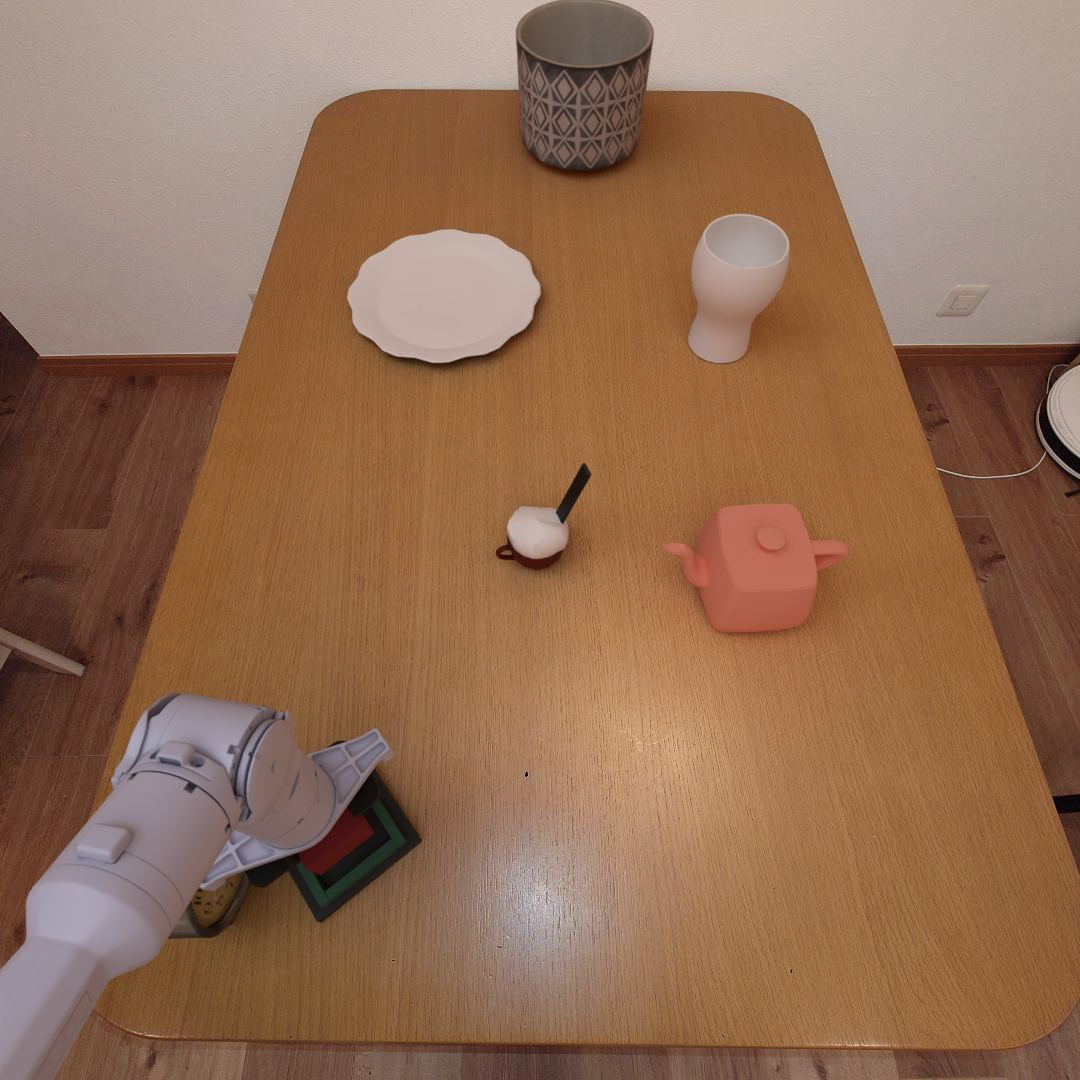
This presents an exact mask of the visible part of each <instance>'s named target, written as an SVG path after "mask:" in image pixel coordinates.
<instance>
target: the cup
mask: <svg viewBox="0 0 1080 1080" xmlns="http://www.w3.org/2000/svg"><path fill="white" fill-rule="evenodd" d="M790 250H791V246H790V239H789V238H788V236H787V234H786V232H785V231H784V230H783V229H782V228H781V227H780V226H779V225H778V224H776V223H775V222H773V221H771V219H767V218H765V217H762V216H759V215H755V214H751V213H733V214H726V215H723V216H720V217H717V218H716V219H714V220H712V221H711V222H710V223H709V224H708V225H707V226H706V227H705V229H704V230H703V232H702V235H701V237H700V238H699V240H698V242H697V245H696V246H695V249H694V252H693V256H692V260H691V265H690V277H691V286H692V292H693V294H694V297H695V299H696V303H697V307H696V309H697V310H696V315H695V317H694V319H693V322H692V323H691V326H690V328H689V332H688V334H687V344H688V347H689V349H690V350H691V351H692V353H693V354H695V356H697V357H699V358H701V359H702V360H704V361H706V362H711V363H714V364H729V363H733V362H736V361H738V360H739V359H741V358H742V357H744V356H745V354H746V353H747V352H748V349H749V344H750V339H751V330H752V325H753V323H754V321H755V320H756V318H757V316H758V315H759V314H760V313H762V312H763V311H764V310H766V309H767V308H768V306H769V305H770V304H771V302H772V301H773V300H774V298H775V297H776V296H777V295H778V293H779V292H780V291H781V289H782V287H783V284H784V281H785V278H786V277H787V272H788V269H789V263H790Z"/></svg>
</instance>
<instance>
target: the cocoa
mask: <svg viewBox="0 0 1080 1080" xmlns="http://www.w3.org/2000/svg"><path fill="white" fill-rule="evenodd" d="M591 477H592V472H591V470H590V469H589V467H588V466H587V464H586V463H585V462H583V463H581V466H580V467H579V469H578V471H577V472H576V475H575V476H574V479H573V480H572V481H571V483H570V485H569V486H568V487H569V488H568V489H567V491H566V492H565V494H564V496H563V498H562V500H561V502H560V503H559V506H558V507H557V508H555V507H552V506H548V507H547V506H546V507H544V506H543V507H539V506H531V505H529V506H525V505H524V506H523V505H521V506H519V507H518V508H517V509H516V510H514V512H512V514H511V517H510V518H509V519H508V522H507V526H506V542H507V543H506V544H504V545H501V546H499V547H498V548H497V549H496V550H495V556H496V557H497V558H498V559H499V560H502V561H515V562H516V563H518V564H519V565H521V566H522V567H524V568H525V569H531V570H535V571H537V570H538V571H539V570H543V569H548V568H549V567H551V566H552V565H554V564H556V563H557V562H558V561H559V560H560V558H561V555H563V552H564V551H565V548H566V547H567V544H568V542H569V539H570V529H569V523H568V519H567V518H568V517H569V515H570V513H571V511H572V510H573V508H574V506H575V505H576V503H577V501H578V499H579V498H580V496H581V495H582V492H583V491H584V489H585V487H586V486H587V484H588V481H589V480H590V478H591ZM505 551H509V552H510V553H511V554H503V553H504V552H505Z"/></svg>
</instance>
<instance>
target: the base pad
mask: <svg viewBox="0 0 1080 1080" xmlns="http://www.w3.org/2000/svg"><path fill="white" fill-rule="evenodd" d="M370 775H371V776H372V778H373V779H374V781H375V782H376V784H377V785H378V787H379V790H380V799H379V800H378V801H377V802H376V803H375V804H374V805H373V806H371V807H370V808H369V809H367V811H366V812H365V813H364V814H363V816H364V817H365V819H366V821H367V822H368V824H369V825H370V827H371V828H372V830H373V832H374V834H373V835H371V836H370V837H369V838H368V839H366V840H365V841H364V842H362V843H361V844H360V845H359V846H357V847H356V848H355V849H354V850H352V851H351V852H350V853H348V854H347V855H346V856H345V857H343V858H342V859H341V860H340V861H338V862H337V863H336V864H334V865H333V866H332V867H331V868H329V869H328V870H327V871H325V872H324V873H323V874H322V875H319V874H316V873H314V872H311V871H308V870H306V869H305V867H304V865H303V864H302V862H300V863H299V864H297V865H295V866H292V867H290V868H289V870H288V871H287V872H288V873H289V875H290V876H291V877H290V878H292V880H293V882H294V884H295V886H296V888H297V889H298V891H299V892H300V894H301V896H302V898H303V900H304V901H305V903H306V905H307V907H308V908H309V910H310V912H311V914H312V915H313V917H314V919H315V921H316V922H317V923H320V924H322V923H323V922H325V920H327V919H328V918H329V917H330V916H332V915H333V914H334V913H336V911H338V910H339V909H341V907H343V906H344V905H346V903H348V902H349V901H350V900H351V899H353V898H354V897H356V896H357V895H358V894H359V893H360V892H361V891H363V890H364V889H365V888H367V886H369V885H371V883H373V882H374V881H375V880H376V879H378V878H379V877H380V876H381V875H383V873H385V872H386V871H387V870H389V869H390V868H391V867H393V865H395V864H396V863H397V862H399V861H400V860H401V859H402V858H404V857H405V856H406V855H408V853H410V852H411V851H412V850H413V849H415V848H417V846H418V845H420V844H421V843H422V842H423V839H422V837H421V836H420V835H419V833H418V832H417V830H416V829H415V828H414V826H413V824H412V823H411V822H410V820H409V818H408V817H407V815H406V814H405V812H404V811H403V809H402V808H401V806H400V805H399V804H398V802H397V800H396V799H395V798H394V796H393V794H392V793H391V791H390V790H389V788H388V787H387V785H386V783H385V782H384V781H383V779H382V778H381V776H380V775H379V773H378V772H377V770H376V769H375V768H374V769H373V771H372V772H371V773H370Z"/></svg>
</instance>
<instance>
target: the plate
mask: <svg viewBox="0 0 1080 1080" xmlns="http://www.w3.org/2000/svg"><path fill="white" fill-rule="evenodd" d="M541 289H542V287H541V283H540V282H539V279H538V278H537V277H536V275H535V274H534V270H533V267H532V262H531V261H530V259H528V257H527V256H526V255H525V254H524V253H522V252H521V251H518V250H516V249H514V248H512V247H510V246H509V245H508V244H507V243H505V242H504V241H503V240H502V239H500V238H498V237H496V236H493V235H490V234H487V233H473V232H472V233H471V232H467V231H463V230H459V229H453V228H452V229H437V230H434V231H431V232H428V233H423V234H411V235H408V236H405V237H402V238H399V239H396V240H394V241H393V242H392V243H391V244H389V245H388V246H386V248H384V249H383V250H381V251H379V252H377V253H374V254H373V255H370V256H369V257H368V258H367V259H366V260H365V261H364V262H363V263H362V264H361V265H360V268H359V271H358V273H357V277H356V278H355V279H354V281H353V282H352V283H351V285H350V286H349V287H348V290H347V297H346V300H347V303H348V304H349V306H350V309H351V314H352V315H351V316H352V317H351V319H352V325H353V326H354V328H355V329H356V331H357V332H358V334H360V335H362V336H364V337H365V338H367V339H369V340H370V341H372V342H374V344H375V345H376V346H377V347H378V348H379V349H380V350H381V351H382V352H383V353H385V354H387V355H390V356H392V357H395V358H401V359H403V358H404V359H416V360H419V361H423V362H426V363H429V364H432V365H433V364H435V365H436V364H437V365H438V364H451V363H454V362H457V361H460V360H463V359H465V358H475V357H483V356H487V355H489V354H491V353H493V352H496V351H498V350H500V349H501V348H502V347H503V346H504V345H505V344H506V343H507V342H508V341H509V340H510V339H511V338H513V337H516V335H518V334H519V333H522V332H523V331H525V330H526V329H527V328H528V326H529V325H530V324H531V322H532V321H533V319H534V312H535V307H536V305H537V303H538V301H539V299H540V298H541V295H542V290H541Z"/></svg>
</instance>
